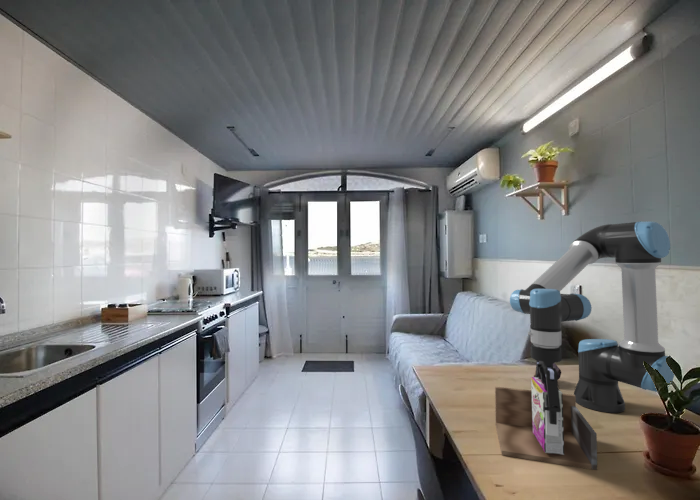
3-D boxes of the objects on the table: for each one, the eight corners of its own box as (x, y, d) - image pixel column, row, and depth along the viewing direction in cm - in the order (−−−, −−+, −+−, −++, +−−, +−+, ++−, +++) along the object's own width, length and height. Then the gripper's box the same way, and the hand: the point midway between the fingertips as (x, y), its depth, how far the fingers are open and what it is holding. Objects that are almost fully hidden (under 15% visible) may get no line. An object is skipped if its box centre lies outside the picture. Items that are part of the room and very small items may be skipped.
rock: (535, 388, 145) (563, 391, 141) (535, 369, 144) (563, 371, 140) (533, 375, 156) (559, 377, 152) (532, 357, 155) (558, 358, 151)
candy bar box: (531, 432, 102) (530, 376, 102) (549, 434, 101) (548, 377, 101) (543, 453, 91) (542, 390, 91) (565, 456, 90) (563, 392, 90)
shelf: (574, 435, 104) (574, 394, 105) (597, 470, 87) (596, 421, 87) (495, 424, 111) (495, 386, 111) (501, 455, 94) (501, 410, 94)
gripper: (523, 334, 109) (524, 405, 109) (539, 355, 87) (540, 444, 86) (550, 336, 107) (552, 408, 106) (574, 357, 84) (575, 449, 84)
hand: (547, 424), depth 96 cm, fingers closed on candy bar box, 11 cm apart
